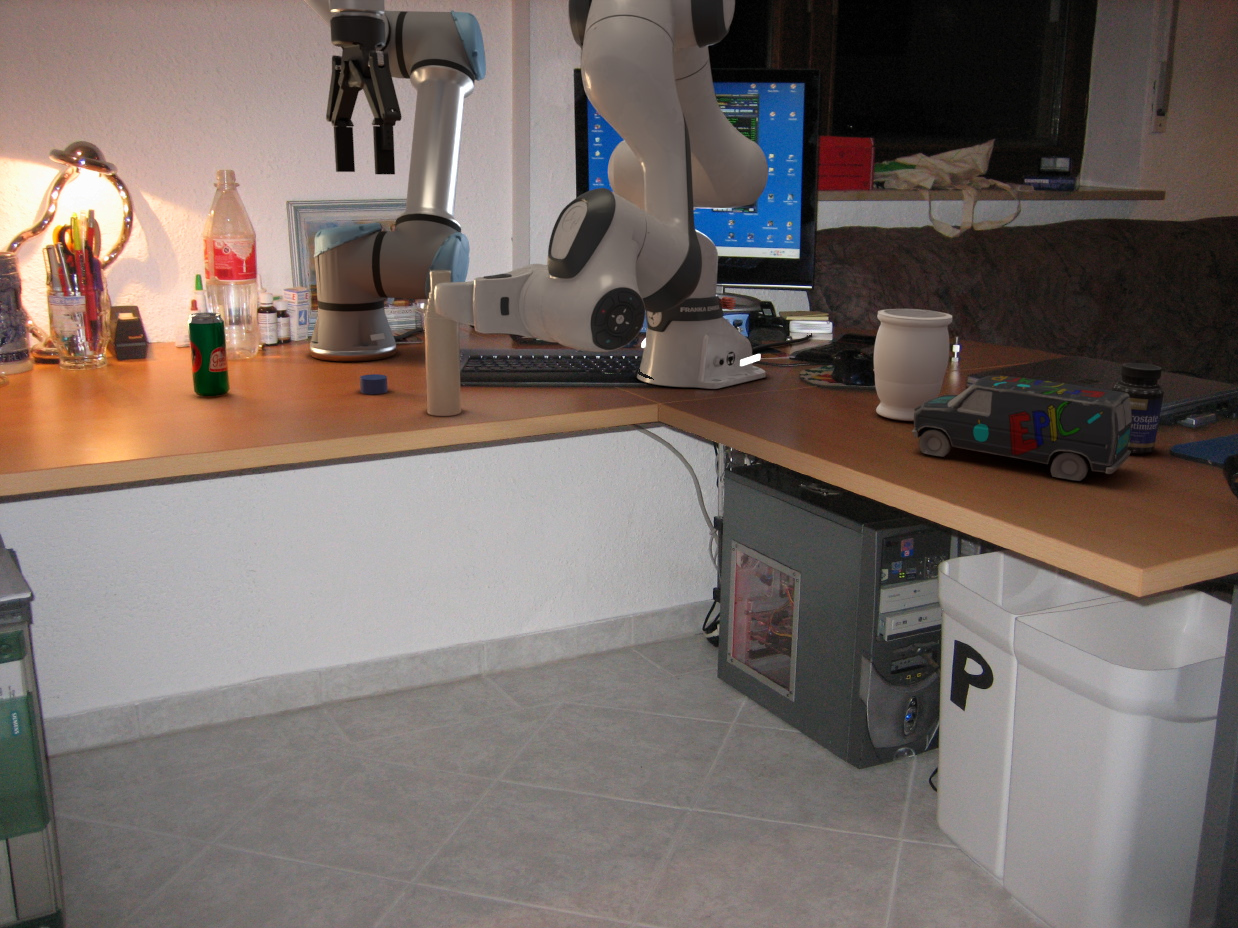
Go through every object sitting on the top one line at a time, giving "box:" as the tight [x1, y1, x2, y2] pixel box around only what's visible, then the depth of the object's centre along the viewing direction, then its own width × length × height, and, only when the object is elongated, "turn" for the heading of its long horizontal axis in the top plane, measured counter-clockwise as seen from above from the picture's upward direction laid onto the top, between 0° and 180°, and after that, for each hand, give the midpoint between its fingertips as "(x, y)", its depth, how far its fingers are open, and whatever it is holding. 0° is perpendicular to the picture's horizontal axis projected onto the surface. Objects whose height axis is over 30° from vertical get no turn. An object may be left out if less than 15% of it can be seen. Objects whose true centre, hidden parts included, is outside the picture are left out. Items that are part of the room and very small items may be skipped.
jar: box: [873, 308, 953, 422], centre depth 154 cm, size 11×10×15 cm
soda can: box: [187, 312, 231, 398], centre depth 160 cm, size 5×5×12 cm
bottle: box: [423, 270, 462, 417], centre depth 151 cm, size 5×5×20 cm
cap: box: [359, 373, 389, 396], centre depth 165 cm, size 4×4×2 cm
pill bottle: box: [1111, 362, 1165, 455], centre depth 139 cm, size 6×6×11 cm
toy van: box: [911, 374, 1133, 482], centre depth 133 cm, size 11×25×10 cm, turn 54°
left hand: (364, 173), depth 156 cm, fingers open, 13 cm apart
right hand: (484, 289), depth 139 cm, fingers open, 8 cm apart
